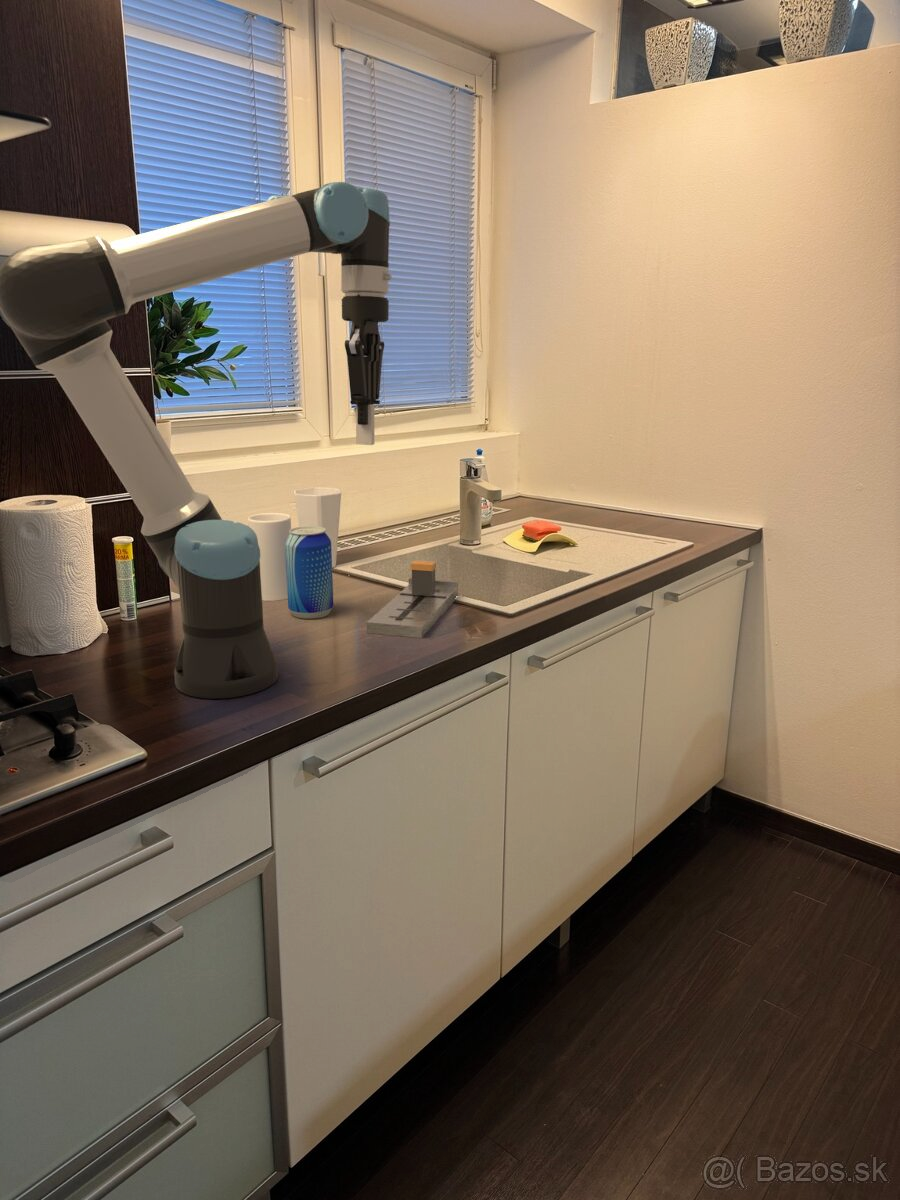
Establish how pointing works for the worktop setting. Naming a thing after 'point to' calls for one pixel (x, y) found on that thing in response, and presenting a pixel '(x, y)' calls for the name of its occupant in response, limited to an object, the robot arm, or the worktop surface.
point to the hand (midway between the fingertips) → (365, 444)
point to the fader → (423, 578)
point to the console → (413, 611)
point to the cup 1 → (272, 552)
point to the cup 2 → (320, 511)
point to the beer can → (309, 572)
